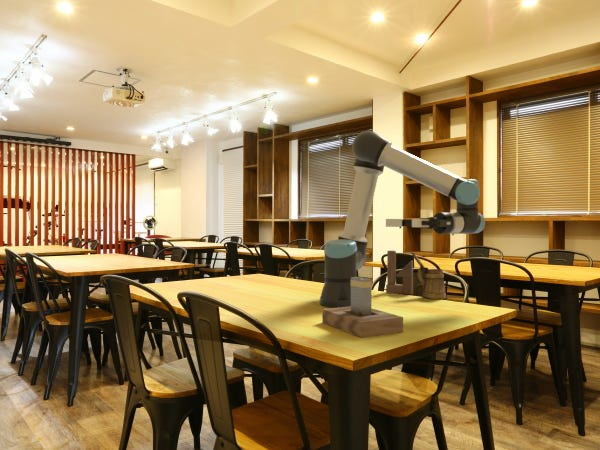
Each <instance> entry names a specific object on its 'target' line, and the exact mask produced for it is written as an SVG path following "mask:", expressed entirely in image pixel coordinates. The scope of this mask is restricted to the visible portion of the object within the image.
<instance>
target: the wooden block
mask: <svg viewBox="0 0 600 450" xmlns="http://www.w3.org/2000/svg"><path fill="white" fill-rule="evenodd" d="M386 255H387V264H386V265H387V267H386V269H387V272H386V273H387V274H386V278H387V281H386V283H387V284H385V292H386V293H387V294H398V295H409V296H410V295H413V294H414V259H413V260H410V261H408V263H407V264H406V265H405V266H404V267H403V268H402V269H400V271H399V272H397V250H387V254H386ZM397 278H402V284H399V283H397Z"/></svg>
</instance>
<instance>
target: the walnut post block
mask: <svg viewBox="0 0 600 450" xmlns="http://www.w3.org/2000/svg"><path fill="white" fill-rule="evenodd" d="M321 312H322V316H321V317H322V318H321V319H322V324H325V325H327V326H331V327H334V328H335V329H338V330H341V331H343V332H346V333H348V334H351V335H354V336H356V337H358V338H366V337H368V338H369V337H374V336H382V335H388V334H389V335H390V334H397V333H403V332H404V317H403V316H400V315H397V314H394V313H390V312H387V311H383V310H379V309H376V308H372V307H371V316H362V317H358V316H355V315H352V314H351V306H350V307H329V308H323V309H322V311H321Z"/></svg>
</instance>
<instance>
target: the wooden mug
mask: <svg viewBox="0 0 600 450" xmlns="http://www.w3.org/2000/svg"><path fill="white" fill-rule="evenodd" d="M411 255H412V256H413V258H414V260H415V261H416V263H417V264H418V265H419V269H418V270H417V273H416V276H417V279H418V281H419V283H420V284H421V286H422V289H423V290H422V291H423V292H422V297H423V298H424V299H429V300H444V299H447V294H446V289H445V288H446V287H445V281H444V278H445V274H444V271H443V269H442V268H441V269H440V268H435V269H434V268H431V269H429V267H425V265H424V264H423V263H422V261H421V260H420V259H419V257H418V256H417V255H416V254H415V253H414V252H411ZM423 274H424V277H425V279H423Z"/></svg>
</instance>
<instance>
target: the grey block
mask: <svg viewBox="0 0 600 450" xmlns="http://www.w3.org/2000/svg"><path fill="white" fill-rule="evenodd" d="M372 283H373V282H372V278H367V277H362V276H356V277H351V314H352V315H355V316H358V317H362V316H371V308H372V287H373V285H372Z"/></svg>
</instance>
